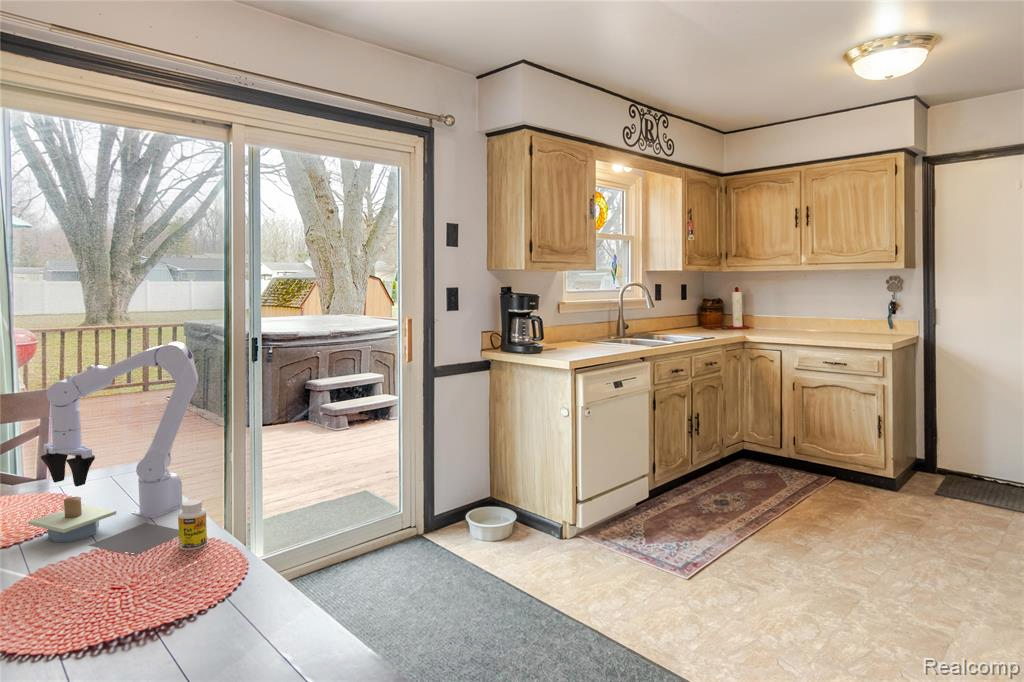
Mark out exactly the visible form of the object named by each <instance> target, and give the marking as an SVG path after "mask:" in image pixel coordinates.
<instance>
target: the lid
mask: <svg viewBox="0 0 1024 682" xmlns="http://www.w3.org/2000/svg"><path fill="white" fill-rule="evenodd" d="M63 508H64V509H61V510H58V511H56V512H52V513H48V514H46V515H43V516H40V517H37V518H33V519H29V520H28V522H27V523H28V524H27V525H28V526H33V527H38V528H40V529H42V528H43V529H46V530H48V529H49V530H54V531H58V532H62V533H65V532H68V531H71V530H73V529H76V528H79V527H82V526H85V525H87V524H90V523H93V522H96V521H99V522H100V521H101V520H104V519H107V518H110V517H113V516H115V515H117V510H113V509H109V508H104V507H99V506H96V505H91V504H85V503H82V497H81V496H71V497H68V498H67V497H66V498H65V499H63Z"/></svg>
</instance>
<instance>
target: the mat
mask: <svg viewBox="0 0 1024 682" xmlns="http://www.w3.org/2000/svg"><path fill="white" fill-rule="evenodd" d="M176 538H179V528H173V527H170V526H169V527H168V526H163V525H160V524H159V525H158V524H154V523H149V522H144V523H141V524H138V525H137V526H134V527H132V528H129V529H126V530H124V531H121V532H118V533H117V534H113V535H110V536H109V537H106V538H104V539H101V540H98V541H95V542H93V543H91V544H88V546H89V547H94V548H98V549H102V550H107V551H111V552H114V553H115V552H116V553H119V554H123V553H125V552H129V554H130V555H129V556H132V555H133V557H135V556H137V555H139V554H141V553H144V552H146V551H148V550H150V549H153V548H155V547H157V546H159V545H163V544H164V543H166V542H168V541H169V542H170V541H171V540H173V539H176ZM131 553H134V554H131Z"/></svg>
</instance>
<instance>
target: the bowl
mask: <svg viewBox="0 0 1024 682" xmlns="http://www.w3.org/2000/svg"><path fill="white" fill-rule="evenodd" d="M99 527H100V520H99V521H96V522H93V523H90V524H87V525H85V526H82V527H79V528H76V529H73V530H71V531H68V532H65V533H62V532H58V531H54V530H49V529H47V535H48V537H47V538H48V539H50V540H51V541H52V542H56V543H68V542H74V541H80V540H83V539H86V538H89V537H92V536H93V535H95V534H96V533H97V532H98V529H99Z"/></svg>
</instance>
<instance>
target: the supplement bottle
mask: <svg viewBox="0 0 1024 682" xmlns="http://www.w3.org/2000/svg"><path fill="white" fill-rule="evenodd" d="M202 503H203V501H202V500H201V499H196V498H195V499H189V500H185V501H182V507H181V510H180V511H179V512H178V515H177V517H178V518H177V519H178V520H177V521H178V529H179V536H178V546H179V548H180V550H184V551H191V550H192V551H193V550H197V549H200V548H202V547H204V546H206V545H207V543H208V536H207V535H208V534H207V531H208V530H207V510H206V509H205V508H204V507H203V504H202Z"/></svg>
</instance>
